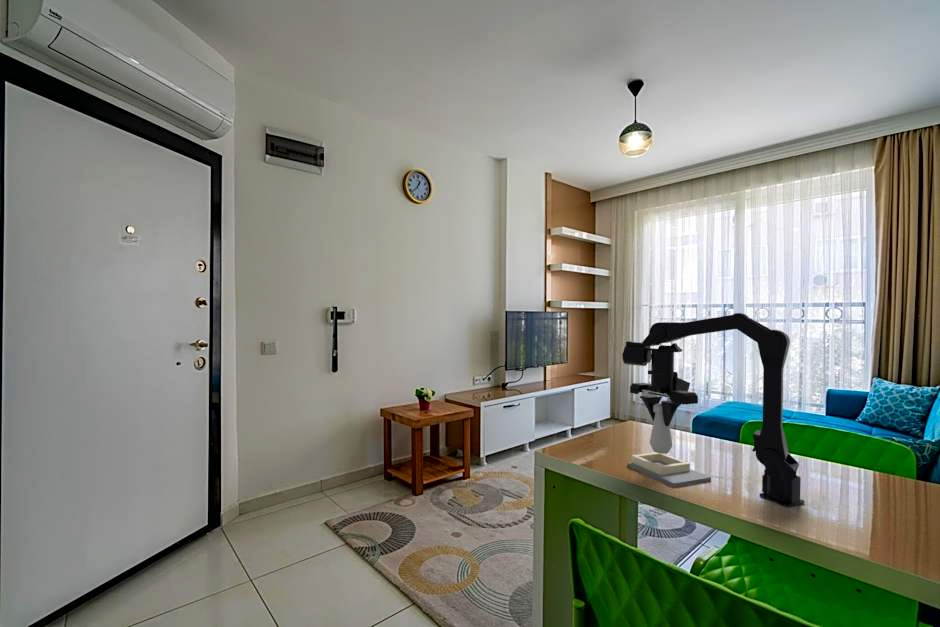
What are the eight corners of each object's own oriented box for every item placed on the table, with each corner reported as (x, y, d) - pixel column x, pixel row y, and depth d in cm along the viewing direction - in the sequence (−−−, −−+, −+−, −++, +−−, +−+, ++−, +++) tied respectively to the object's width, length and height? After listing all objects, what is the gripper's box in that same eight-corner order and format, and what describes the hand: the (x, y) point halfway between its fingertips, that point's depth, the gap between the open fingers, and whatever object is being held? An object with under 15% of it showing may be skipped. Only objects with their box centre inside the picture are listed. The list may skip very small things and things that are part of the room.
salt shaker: (676, 455, 115) (676, 406, 115) (654, 454, 115) (655, 406, 115) (666, 448, 121) (667, 402, 121) (646, 448, 121) (646, 402, 121)
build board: (710, 481, 111) (711, 469, 111) (673, 487, 106) (674, 475, 106) (661, 461, 126) (661, 451, 126) (627, 466, 121) (627, 455, 121)
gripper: (713, 371, 113) (712, 430, 113) (657, 363, 130) (656, 415, 130) (682, 372, 109) (681, 433, 108) (629, 364, 126) (628, 417, 126)
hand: (661, 424), depth 118 cm, fingers closed on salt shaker, 4 cm apart
